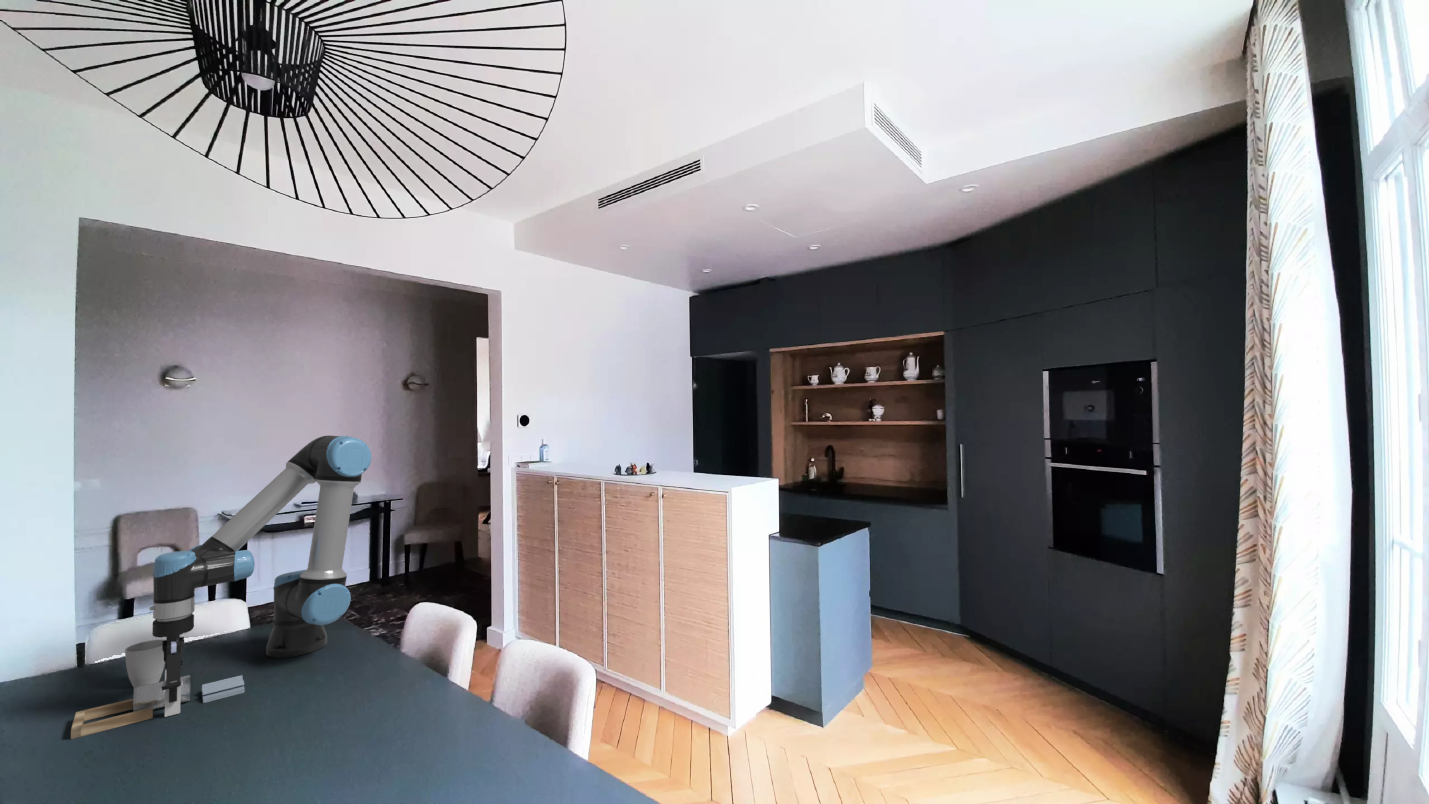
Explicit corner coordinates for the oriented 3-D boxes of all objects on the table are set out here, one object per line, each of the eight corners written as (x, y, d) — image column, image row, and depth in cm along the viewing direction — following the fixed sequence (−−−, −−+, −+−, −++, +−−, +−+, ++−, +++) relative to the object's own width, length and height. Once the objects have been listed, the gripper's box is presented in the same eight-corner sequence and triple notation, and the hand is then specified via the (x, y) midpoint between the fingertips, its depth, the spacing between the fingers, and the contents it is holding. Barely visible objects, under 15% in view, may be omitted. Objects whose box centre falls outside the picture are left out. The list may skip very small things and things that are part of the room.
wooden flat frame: (76, 720, 137) (76, 712, 137) (153, 701, 146) (153, 693, 146) (70, 739, 129) (70, 730, 129) (152, 718, 138) (152, 709, 138)
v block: (201, 691, 151) (201, 682, 151) (241, 681, 156) (241, 672, 156) (203, 703, 145) (203, 693, 145) (244, 692, 151) (244, 682, 151)
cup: (175, 677, 159) (176, 640, 159) (143, 691, 151) (144, 652, 151) (148, 675, 160) (149, 638, 160) (115, 690, 152) (115, 651, 152)
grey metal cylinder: (132, 715, 137) (133, 688, 139) (133, 714, 142) (134, 687, 143) (190, 701, 144) (190, 675, 146) (189, 700, 148) (189, 674, 150)
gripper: (153, 607, 151) (151, 691, 151) (151, 634, 133) (150, 729, 133) (192, 601, 156) (190, 682, 156) (196, 626, 138) (194, 718, 138)
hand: (172, 704), depth 144 cm, fingers open, 13 cm apart
